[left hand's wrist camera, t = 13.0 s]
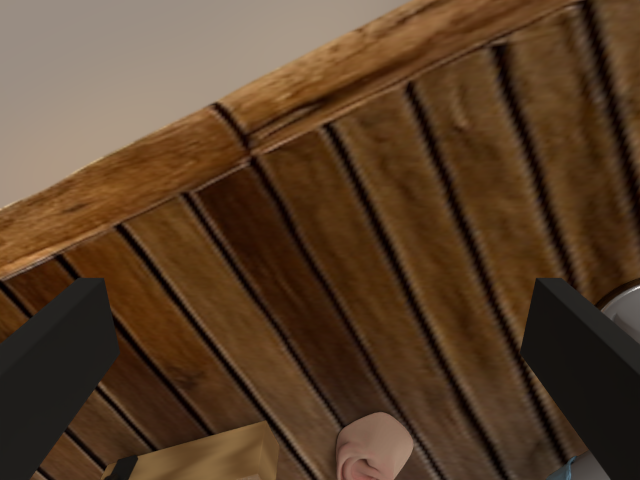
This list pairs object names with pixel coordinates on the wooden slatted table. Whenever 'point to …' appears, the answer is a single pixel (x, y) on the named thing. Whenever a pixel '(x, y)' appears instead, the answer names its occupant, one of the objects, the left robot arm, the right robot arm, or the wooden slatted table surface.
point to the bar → (213, 458)
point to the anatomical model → (372, 448)
